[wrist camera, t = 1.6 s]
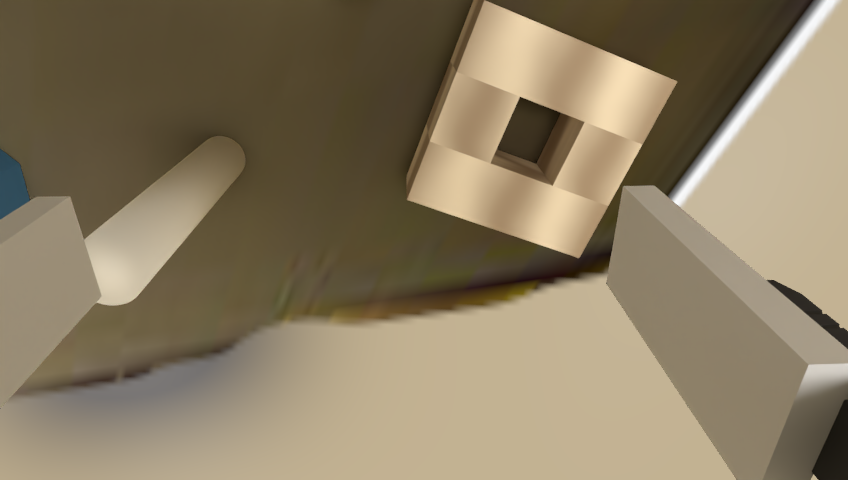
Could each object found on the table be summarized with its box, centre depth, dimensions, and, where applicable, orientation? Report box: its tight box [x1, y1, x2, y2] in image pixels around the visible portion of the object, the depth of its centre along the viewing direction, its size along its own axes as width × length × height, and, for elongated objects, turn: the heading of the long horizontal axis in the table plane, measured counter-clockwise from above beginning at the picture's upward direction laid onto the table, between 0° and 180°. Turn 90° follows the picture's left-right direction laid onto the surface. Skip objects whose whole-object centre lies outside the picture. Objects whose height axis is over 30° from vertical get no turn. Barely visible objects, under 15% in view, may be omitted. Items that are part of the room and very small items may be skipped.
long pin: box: [84, 136, 246, 305], centre depth 29 cm, size 3×3×16 cm
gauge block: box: [406, 0, 677, 258], centre depth 34 cm, size 12×12×4 cm
